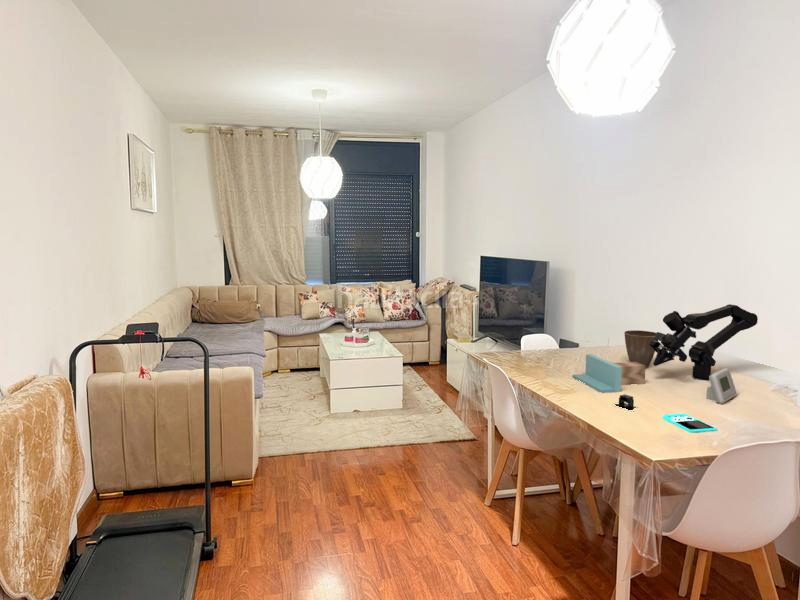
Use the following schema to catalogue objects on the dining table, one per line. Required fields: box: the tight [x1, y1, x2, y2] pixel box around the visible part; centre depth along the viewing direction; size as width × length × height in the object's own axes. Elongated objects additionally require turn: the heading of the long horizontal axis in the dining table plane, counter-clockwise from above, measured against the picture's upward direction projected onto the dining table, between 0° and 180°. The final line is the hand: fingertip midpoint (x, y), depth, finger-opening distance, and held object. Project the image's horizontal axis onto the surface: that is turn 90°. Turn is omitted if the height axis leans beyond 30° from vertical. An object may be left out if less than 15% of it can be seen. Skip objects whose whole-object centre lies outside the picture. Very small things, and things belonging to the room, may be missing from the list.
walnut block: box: [612, 361, 647, 386], centre depth 239 cm, size 16×7×8 cm, turn 100°
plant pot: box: [624, 329, 659, 369], centre depth 266 cm, size 15×15×16 cm
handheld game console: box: [661, 412, 718, 434], centre depth 190 cm, size 10×16×1 cm, turn 11°
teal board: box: [571, 353, 622, 394], centre depth 237 cm, size 8×24×10 cm, turn 10°
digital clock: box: [705, 367, 738, 405], centre depth 216 cm, size 16×9×11 cm, turn 121°
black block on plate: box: [614, 394, 637, 411], centre depth 208 cm, size 12×7×5 cm, turn 31°
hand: (654, 365), depth 241 cm, fingers closed
